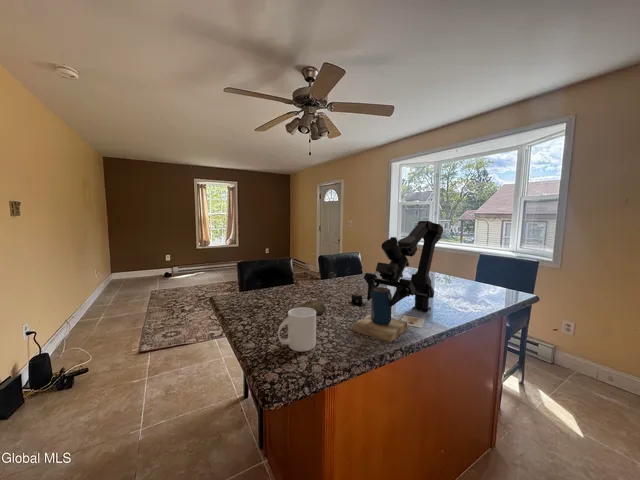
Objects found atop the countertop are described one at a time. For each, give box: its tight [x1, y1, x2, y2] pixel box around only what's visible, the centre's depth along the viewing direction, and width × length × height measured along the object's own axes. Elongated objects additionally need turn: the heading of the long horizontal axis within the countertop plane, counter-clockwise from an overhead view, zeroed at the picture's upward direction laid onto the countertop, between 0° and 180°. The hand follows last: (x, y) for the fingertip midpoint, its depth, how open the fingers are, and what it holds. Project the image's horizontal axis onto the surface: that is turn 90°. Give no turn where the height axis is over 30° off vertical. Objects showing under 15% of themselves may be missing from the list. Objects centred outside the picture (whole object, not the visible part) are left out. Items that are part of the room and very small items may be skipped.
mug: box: [277, 307, 317, 353], centre depth 79 cm, size 9×12×11 cm
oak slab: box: [352, 313, 408, 343], centre depth 92 cm, size 14×14×3 cm
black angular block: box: [347, 293, 367, 308], centre depth 122 cm, size 12×7×5 cm, turn 38°
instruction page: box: [400, 315, 426, 329], centre depth 100 cm, size 10×8×1 cm
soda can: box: [370, 286, 393, 326], centre depth 92 cm, size 7×7×12 cm
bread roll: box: [295, 299, 327, 317], centre depth 111 cm, size 13×12×5 cm
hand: (378, 302), depth 91 cm, fingers open, 9 cm apart
